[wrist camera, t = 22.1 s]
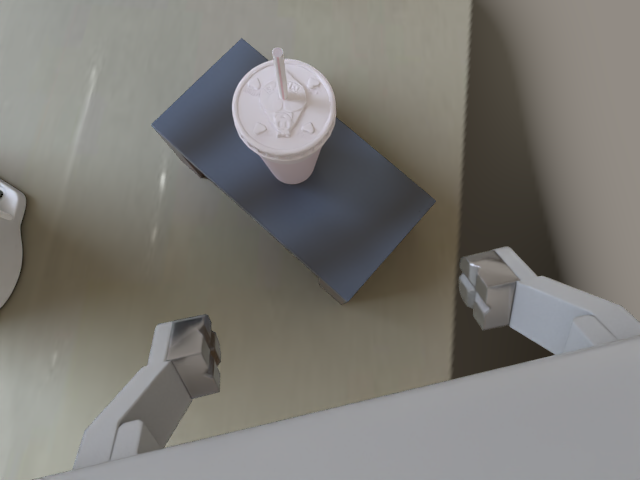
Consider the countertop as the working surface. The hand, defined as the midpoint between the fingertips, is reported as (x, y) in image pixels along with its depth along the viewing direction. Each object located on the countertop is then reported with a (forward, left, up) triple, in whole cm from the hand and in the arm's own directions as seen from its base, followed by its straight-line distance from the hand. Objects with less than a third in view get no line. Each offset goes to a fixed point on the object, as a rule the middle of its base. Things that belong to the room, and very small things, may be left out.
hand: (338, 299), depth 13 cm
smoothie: (-10, +7, -20) cm, 23 cm away
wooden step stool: (-10, +7, -28) cm, 30 cm away
